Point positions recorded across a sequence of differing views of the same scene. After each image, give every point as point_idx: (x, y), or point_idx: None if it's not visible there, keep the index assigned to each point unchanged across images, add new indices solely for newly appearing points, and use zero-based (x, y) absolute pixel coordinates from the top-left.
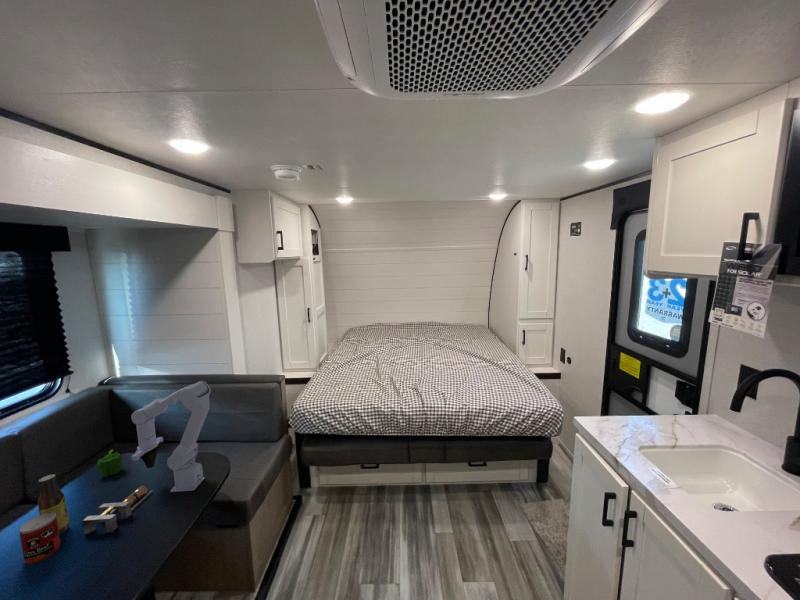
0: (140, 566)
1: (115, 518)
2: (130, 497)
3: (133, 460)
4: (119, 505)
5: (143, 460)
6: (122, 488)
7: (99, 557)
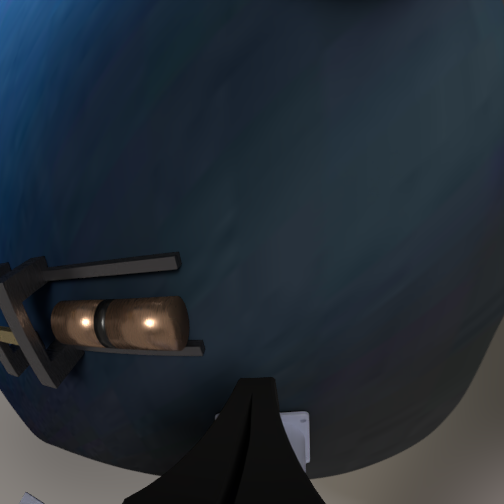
0: (48, 433)
1: (24, 368)
2: (87, 343)
3: (33, 499)
4: (31, 362)
5: (193, 455)
6: (218, 106)
7: None
